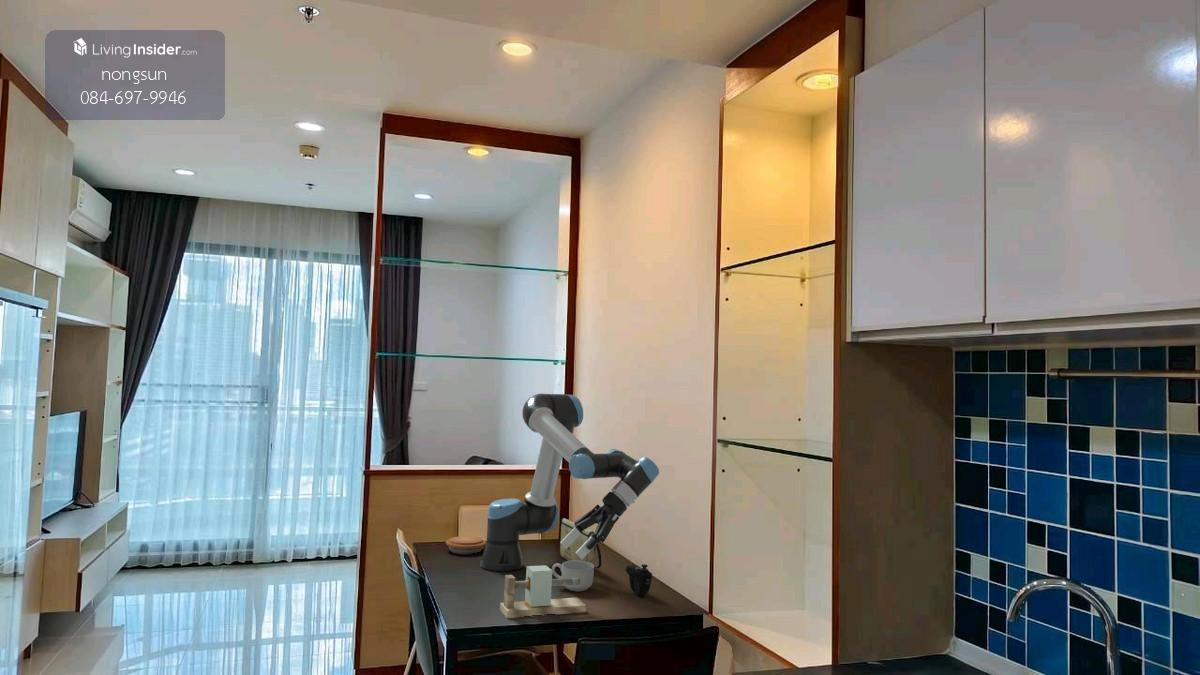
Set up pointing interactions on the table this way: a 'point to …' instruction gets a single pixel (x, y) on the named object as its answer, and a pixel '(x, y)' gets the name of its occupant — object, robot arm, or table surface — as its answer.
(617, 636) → the table surface
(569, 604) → the lead screw slider
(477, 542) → the pie
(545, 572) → the sleeve
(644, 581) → the controller
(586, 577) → the teacup
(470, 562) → the table surface
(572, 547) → the clutch purse
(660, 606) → the table surface
